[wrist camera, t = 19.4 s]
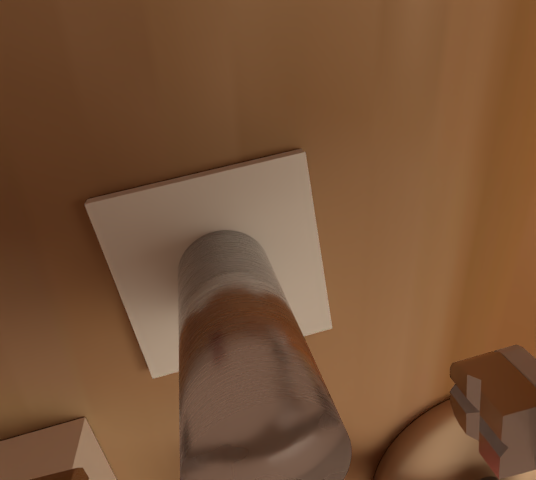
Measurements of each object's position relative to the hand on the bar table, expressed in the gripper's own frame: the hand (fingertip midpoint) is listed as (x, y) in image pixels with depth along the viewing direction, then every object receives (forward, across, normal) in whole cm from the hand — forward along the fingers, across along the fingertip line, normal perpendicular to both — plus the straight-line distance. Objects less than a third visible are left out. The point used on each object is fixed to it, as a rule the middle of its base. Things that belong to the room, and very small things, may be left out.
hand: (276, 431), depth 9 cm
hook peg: (+8, +1, 0) cm, 8 cm away
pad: (+9, +1, 0) cm, 9 cm away
